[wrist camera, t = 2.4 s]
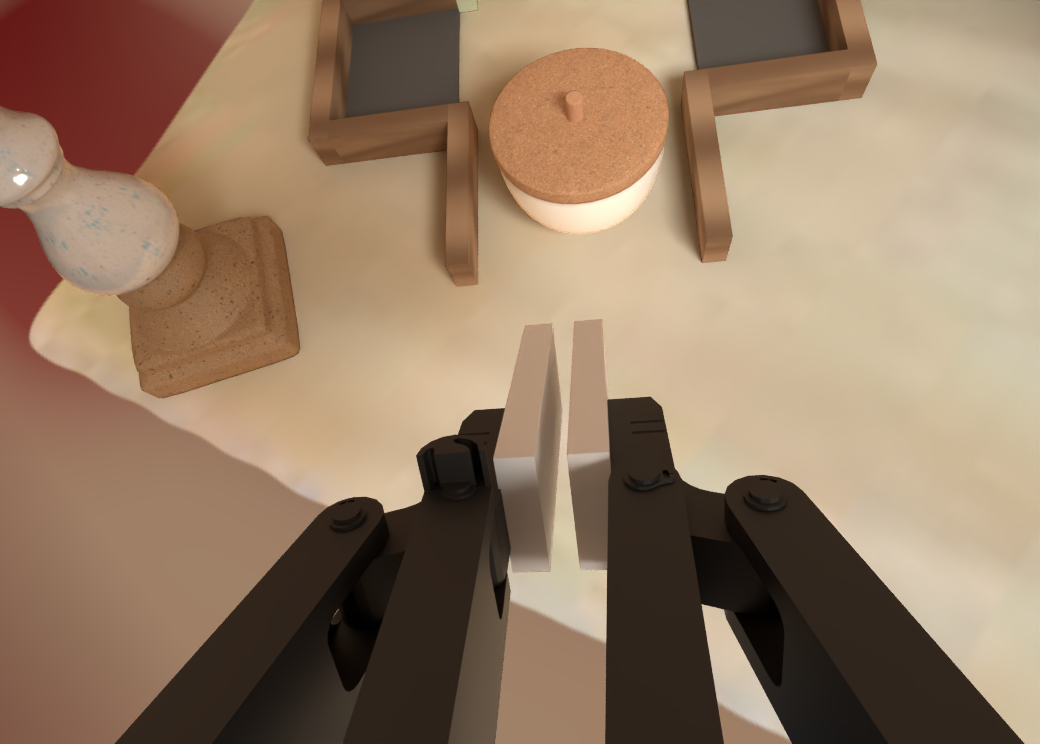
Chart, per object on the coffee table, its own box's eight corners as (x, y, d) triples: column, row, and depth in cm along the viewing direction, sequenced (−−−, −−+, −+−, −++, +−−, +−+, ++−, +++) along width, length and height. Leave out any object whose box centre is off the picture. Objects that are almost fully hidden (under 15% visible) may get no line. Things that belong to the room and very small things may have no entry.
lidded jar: (480, 214, 46) (445, 125, 38) (569, 108, 48) (555, -1, 39) (602, 288, 43) (595, 209, 34) (693, 172, 45) (709, 68, 36)
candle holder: (282, 226, 49) (-10, -87, 26) (302, 354, 45) (-21, 114, 23) (148, 270, 49) (-246, 1, 27) (157, 401, 45) (-297, 212, 23)
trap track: (898, 243, 41) (941, 187, 35) (313, 300, 46) (270, 258, 40) (801, -143, 53) (821, -232, 47) (347, -62, 58) (317, -133, 53)
